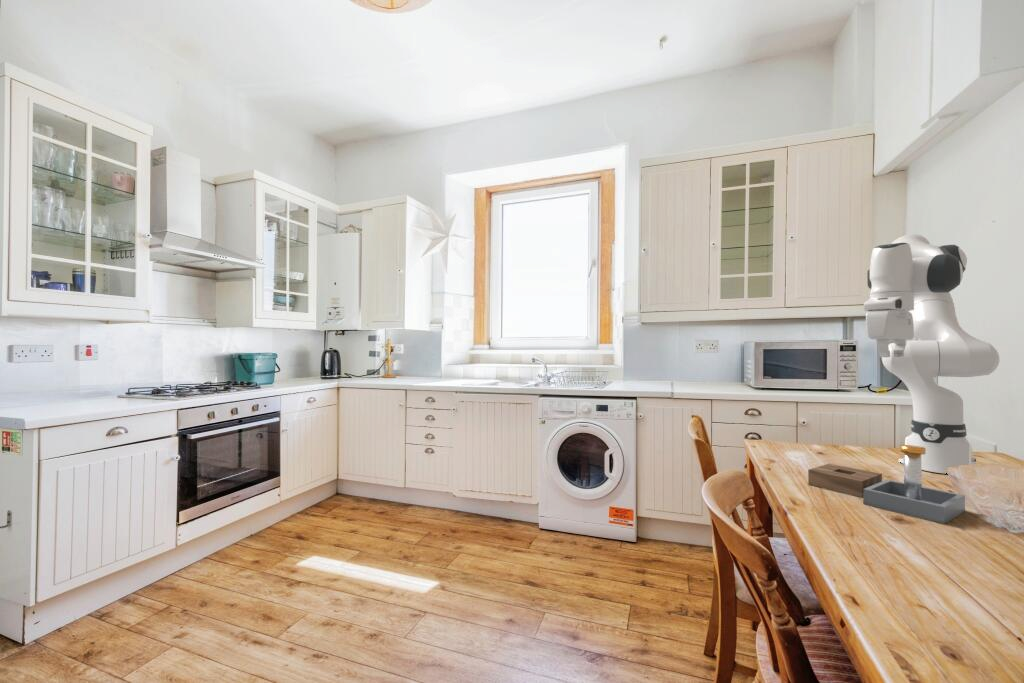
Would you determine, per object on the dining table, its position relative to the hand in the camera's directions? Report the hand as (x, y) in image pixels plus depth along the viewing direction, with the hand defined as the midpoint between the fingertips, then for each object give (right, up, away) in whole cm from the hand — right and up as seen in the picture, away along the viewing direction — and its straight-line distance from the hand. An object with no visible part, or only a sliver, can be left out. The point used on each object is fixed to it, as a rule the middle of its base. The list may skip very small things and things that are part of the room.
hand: (891, 357), depth 117 cm
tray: (-8, -34, -15) cm, 38 cm away
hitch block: (-12, -34, 0) cm, 36 cm away
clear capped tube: (-8, -33, -15) cm, 37 cm away
